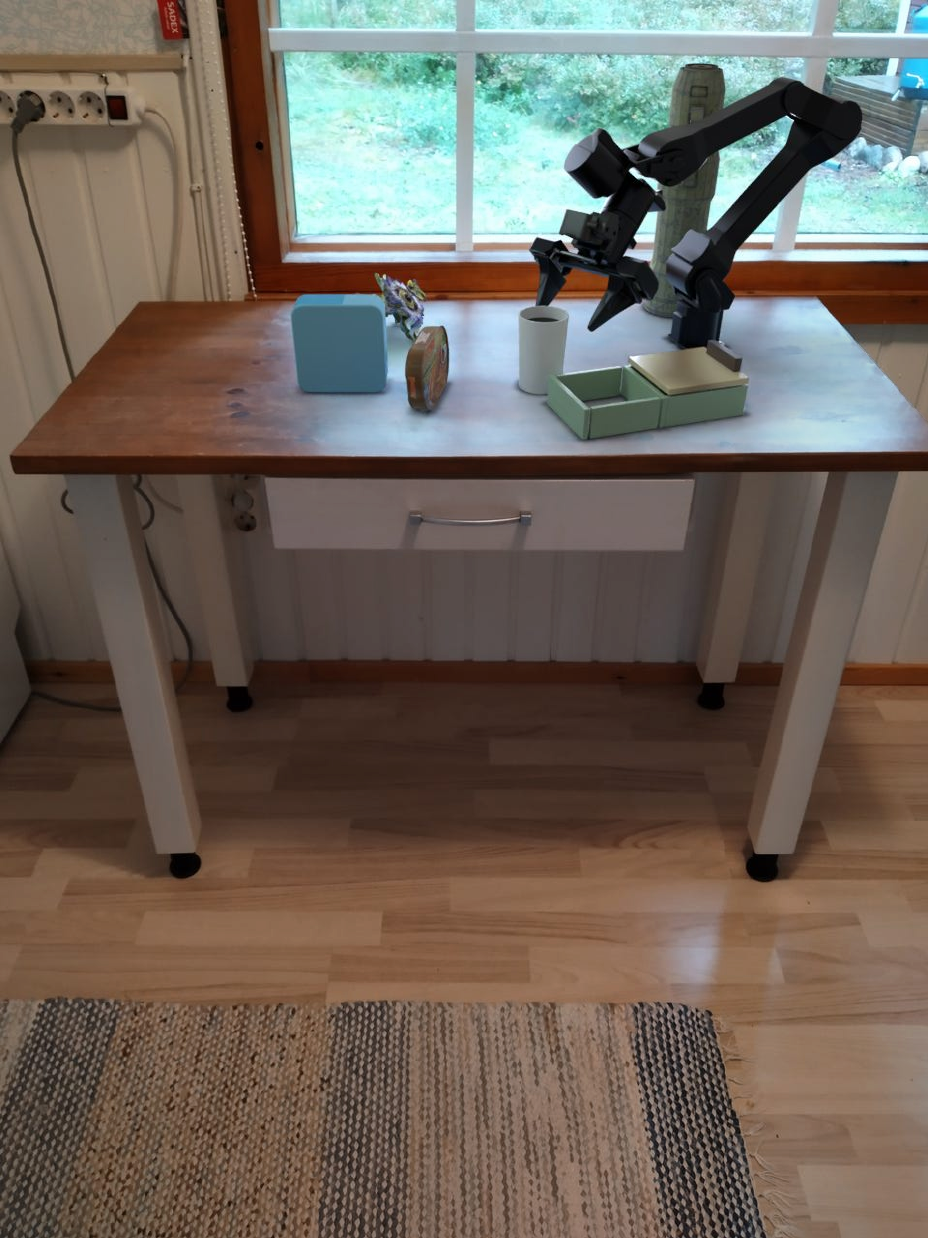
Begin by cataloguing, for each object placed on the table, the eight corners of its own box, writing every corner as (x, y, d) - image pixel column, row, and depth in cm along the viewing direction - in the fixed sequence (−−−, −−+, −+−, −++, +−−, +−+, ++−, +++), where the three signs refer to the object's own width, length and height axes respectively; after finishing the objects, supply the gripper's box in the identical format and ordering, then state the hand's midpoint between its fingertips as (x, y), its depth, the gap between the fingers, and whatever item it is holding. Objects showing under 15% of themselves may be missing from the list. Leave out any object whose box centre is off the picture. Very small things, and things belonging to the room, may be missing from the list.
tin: (427, 420, 127) (425, 357, 122) (403, 418, 127) (400, 355, 123) (451, 376, 139) (451, 316, 134) (429, 374, 139) (428, 315, 134)
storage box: (698, 382, 137) (702, 354, 135) (742, 415, 128) (748, 385, 126) (546, 403, 131) (548, 375, 129) (582, 439, 122) (584, 409, 120)
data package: (388, 379, 138) (384, 293, 131) (386, 393, 134) (382, 305, 127) (302, 379, 138) (294, 293, 131) (298, 392, 134) (289, 305, 127)
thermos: (648, 320, 157) (676, 70, 136) (640, 296, 167) (665, 59, 146) (704, 321, 157) (740, 71, 136) (692, 297, 166) (725, 59, 146)
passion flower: (416, 373, 154) (427, 327, 142) (346, 362, 152) (352, 314, 141) (422, 312, 157) (433, 263, 146) (353, 300, 156) (360, 250, 144)
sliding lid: (703, 352, 135) (706, 333, 133) (748, 383, 126) (752, 363, 124) (627, 362, 132) (629, 343, 130) (668, 395, 123) (671, 375, 121)
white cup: (571, 381, 137) (576, 309, 131) (553, 399, 132) (558, 325, 127) (527, 373, 140) (529, 302, 134) (508, 390, 135) (510, 318, 129)
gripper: (540, 172, 132) (483, 274, 132) (656, 195, 122) (594, 306, 122) (574, 221, 141) (520, 317, 142) (684, 247, 131) (626, 350, 131)
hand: (562, 321), depth 134 cm, fingers open, 9 cm apart
